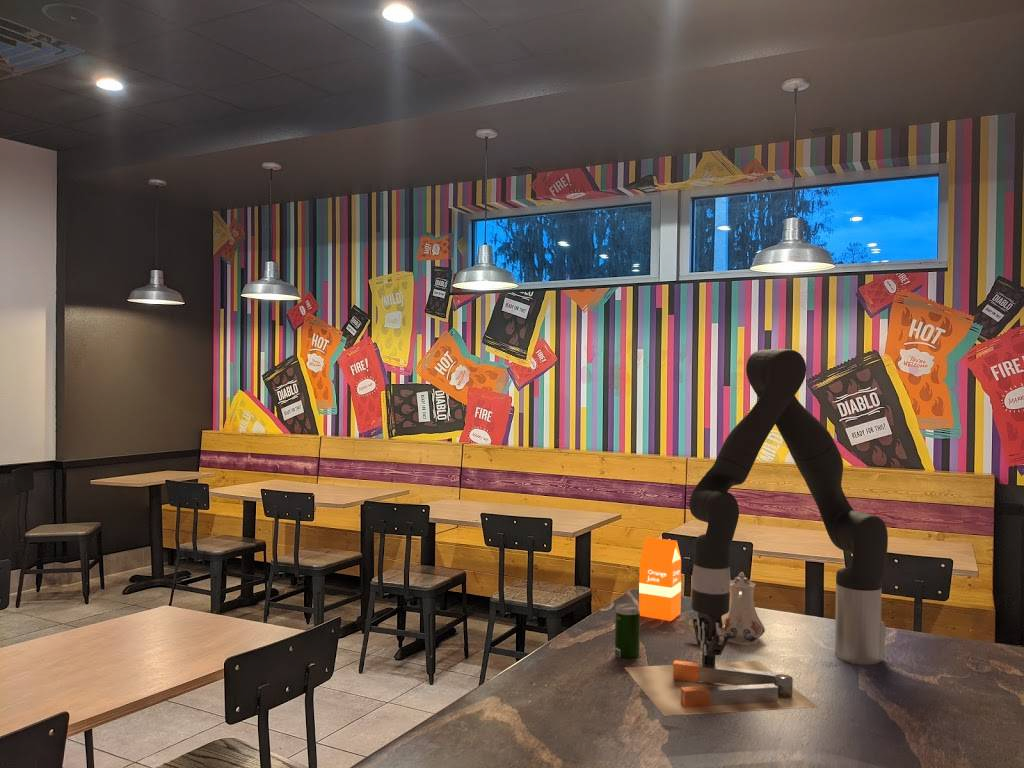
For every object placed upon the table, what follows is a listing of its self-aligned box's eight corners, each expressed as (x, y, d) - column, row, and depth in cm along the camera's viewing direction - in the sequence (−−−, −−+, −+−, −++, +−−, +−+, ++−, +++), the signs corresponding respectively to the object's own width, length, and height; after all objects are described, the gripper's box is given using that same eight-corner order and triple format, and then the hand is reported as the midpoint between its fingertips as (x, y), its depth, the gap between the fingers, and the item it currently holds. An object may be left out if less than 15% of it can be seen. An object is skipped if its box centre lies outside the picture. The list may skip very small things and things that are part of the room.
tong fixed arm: (772, 697, 152) (773, 682, 152) (778, 702, 150) (778, 686, 150) (680, 703, 149) (680, 687, 149) (684, 707, 147) (684, 691, 147)
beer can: (626, 667, 171) (626, 611, 171) (609, 659, 176) (610, 605, 175) (644, 662, 174) (645, 607, 174) (628, 655, 179) (628, 601, 178)
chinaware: (699, 623, 208) (694, 559, 208) (766, 624, 202) (760, 558, 203) (688, 659, 181) (681, 586, 181) (765, 661, 176) (758, 585, 176)
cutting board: (758, 667, 172) (758, 660, 172) (818, 714, 148) (818, 706, 148) (624, 674, 167) (624, 667, 167) (663, 724, 143) (664, 715, 143)
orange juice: (670, 621, 204) (672, 543, 204) (638, 615, 208) (639, 539, 208) (680, 613, 211) (681, 538, 210) (649, 608, 215) (650, 534, 215)
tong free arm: (791, 689, 155) (792, 673, 155) (792, 698, 151) (792, 681, 151) (674, 675, 162) (674, 659, 162) (671, 683, 158) (672, 666, 158)
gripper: (742, 596, 155) (739, 684, 156) (715, 578, 168) (712, 659, 169) (705, 596, 154) (702, 685, 154) (681, 578, 167) (678, 660, 168)
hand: (708, 672), depth 162 cm, fingers closed
